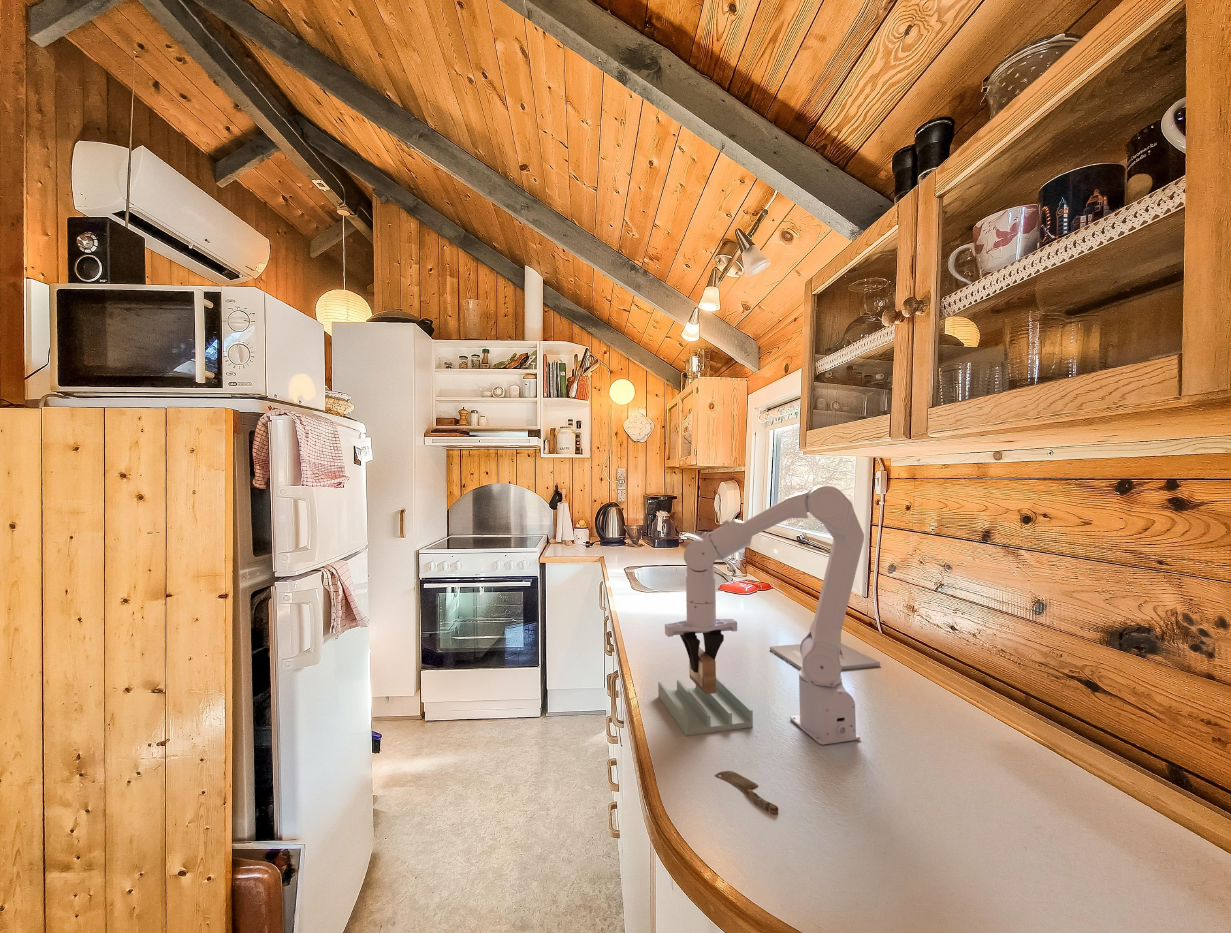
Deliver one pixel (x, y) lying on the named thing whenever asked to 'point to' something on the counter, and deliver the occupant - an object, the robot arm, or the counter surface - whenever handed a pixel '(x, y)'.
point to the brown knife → (747, 789)
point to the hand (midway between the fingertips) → (701, 669)
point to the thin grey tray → (846, 656)
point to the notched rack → (706, 709)
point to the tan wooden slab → (705, 673)
